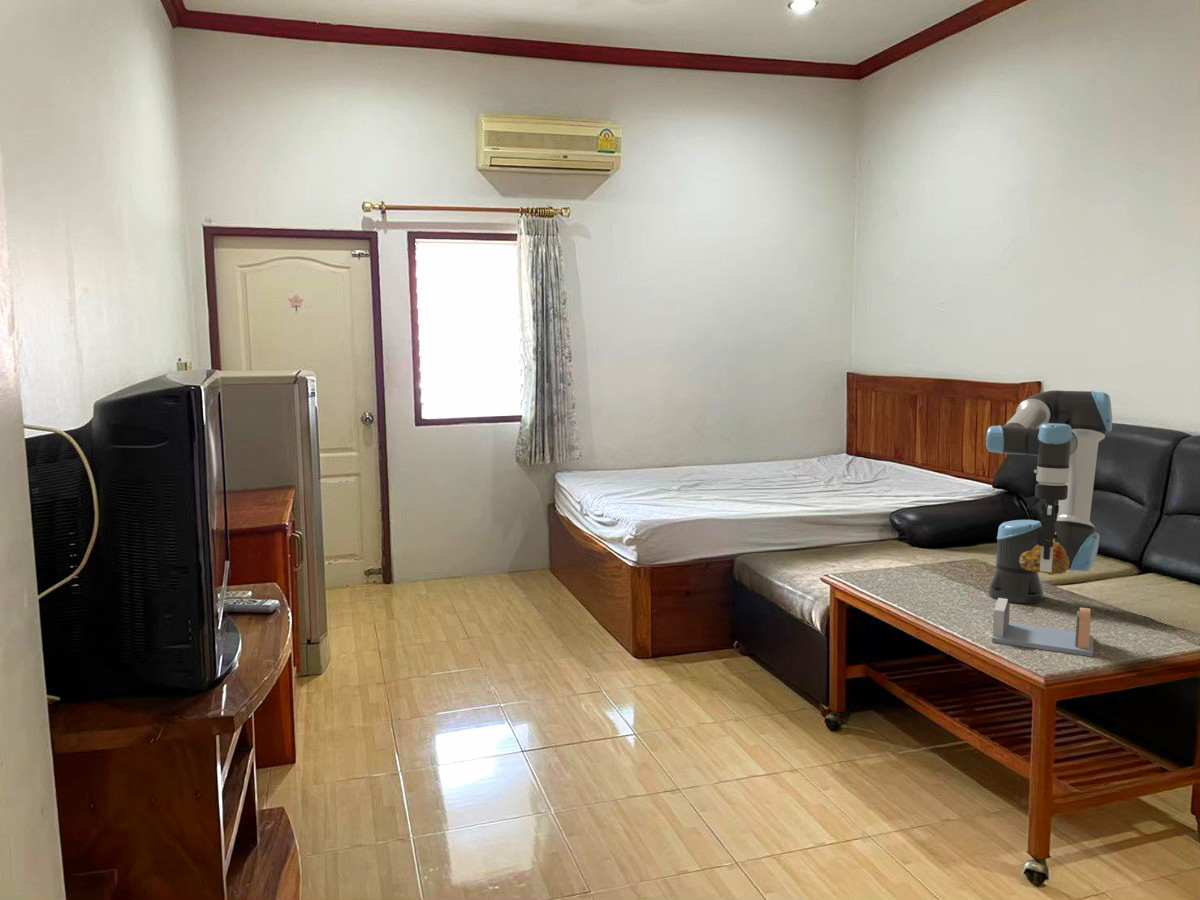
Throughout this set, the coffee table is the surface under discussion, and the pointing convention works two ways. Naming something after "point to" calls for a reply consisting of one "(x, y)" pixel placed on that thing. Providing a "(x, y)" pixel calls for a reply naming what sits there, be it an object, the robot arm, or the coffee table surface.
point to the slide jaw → (1083, 628)
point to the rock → (1032, 558)
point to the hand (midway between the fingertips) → (1046, 566)
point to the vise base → (1034, 634)
